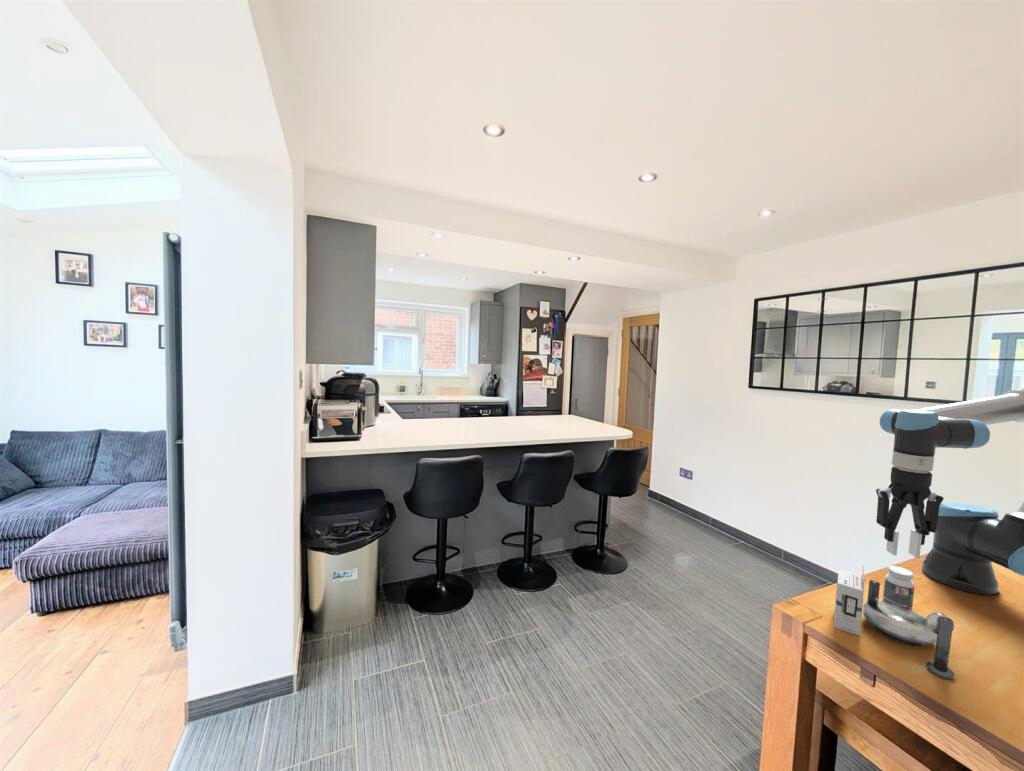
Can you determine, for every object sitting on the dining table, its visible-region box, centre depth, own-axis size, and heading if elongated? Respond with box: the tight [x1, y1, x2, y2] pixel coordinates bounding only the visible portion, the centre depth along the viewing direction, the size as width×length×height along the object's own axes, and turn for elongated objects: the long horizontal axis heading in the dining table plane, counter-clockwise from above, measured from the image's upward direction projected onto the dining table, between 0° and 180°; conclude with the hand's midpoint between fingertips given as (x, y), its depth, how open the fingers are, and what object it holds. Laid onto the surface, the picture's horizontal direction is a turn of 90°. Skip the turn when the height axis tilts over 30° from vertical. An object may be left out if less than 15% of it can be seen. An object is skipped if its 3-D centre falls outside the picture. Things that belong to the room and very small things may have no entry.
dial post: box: [925, 612, 955, 681], centre depth 83 cm, size 4×4×12 cm
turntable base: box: [872, 624, 924, 647], centre depth 95 cm, size 9×9×2 cm
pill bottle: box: [882, 565, 915, 611], centre depth 105 cm, size 6×6×10 cm
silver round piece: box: [862, 579, 937, 645], centre depth 95 cm, size 13×13×8 cm
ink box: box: [833, 565, 866, 637], centre depth 97 cm, size 8×5×15 cm, turn 140°
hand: (902, 553), depth 104 cm, fingers open, 4 cm apart
